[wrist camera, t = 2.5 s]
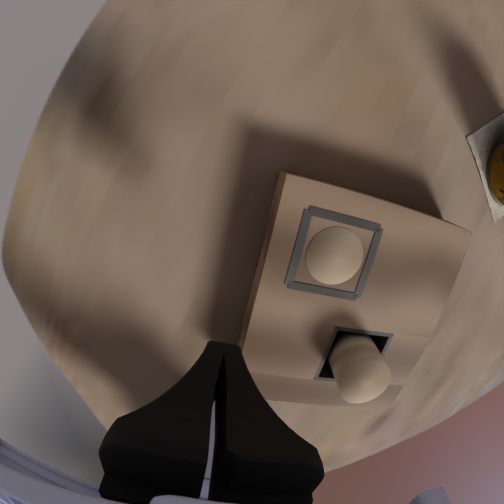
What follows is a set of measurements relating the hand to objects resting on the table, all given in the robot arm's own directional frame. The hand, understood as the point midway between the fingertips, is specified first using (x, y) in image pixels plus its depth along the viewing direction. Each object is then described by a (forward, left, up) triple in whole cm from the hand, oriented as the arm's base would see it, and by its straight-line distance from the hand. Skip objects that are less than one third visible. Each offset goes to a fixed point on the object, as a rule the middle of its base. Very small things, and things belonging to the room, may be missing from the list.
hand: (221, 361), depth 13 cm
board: (0, -9, -10) cm, 13 cm away
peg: (-3, -10, -7) cm, 12 cm away
